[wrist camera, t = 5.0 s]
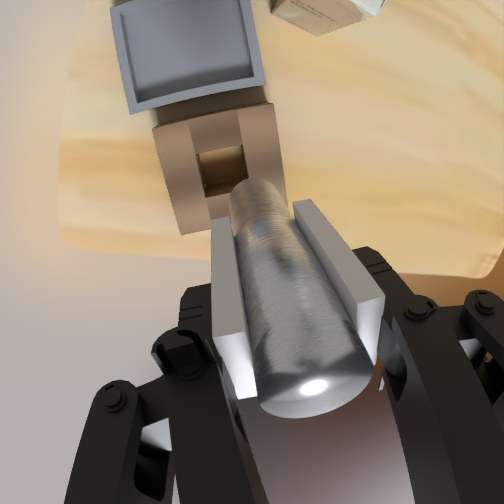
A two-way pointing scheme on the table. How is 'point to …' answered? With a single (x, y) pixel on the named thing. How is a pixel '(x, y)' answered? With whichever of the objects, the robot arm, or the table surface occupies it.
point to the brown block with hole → (212, 138)
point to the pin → (292, 311)
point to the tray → (184, 49)
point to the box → (325, 13)
